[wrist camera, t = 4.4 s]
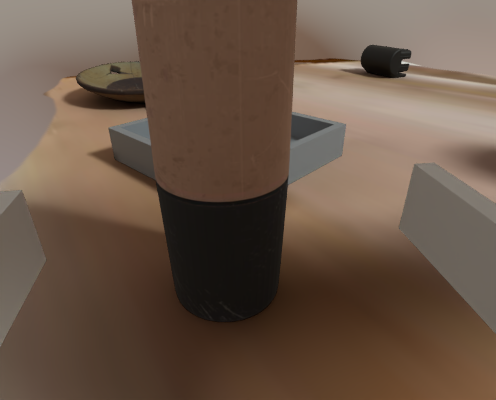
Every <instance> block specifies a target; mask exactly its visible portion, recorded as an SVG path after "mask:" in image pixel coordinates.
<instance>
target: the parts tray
mask: <svg viewBox="0 0 496 400" xmlns="http://www.w3.org/2000/svg"><path fill="white" fill-rule="evenodd" d="M345 129H346V124H343V123H338V122H334V121H330V120H325V119H321V118H317V117H312V116H308V115H304V114H299V113H295V112H292V119H291V140H290V161H289V177H288V185H289V184H291V183H293V182H294V181H296V180H298V179H300V178H302V177H303V176H305V175H307V174H309V173H311V172H312V171H314V170H316V169H318V168H320V167H322V166H323V165H325V164H327V163H329V162H331V161H332V160H334V159H336V158H338V157H340V156H342V151H343V144H344V136H345ZM109 133H110V138H111V143H112V148H113V153H114V158H115V160H117V161H119V162H121V163H123V164H125V165H127V166H129V167H131V168H133V169H135V170H137V171H139V172H141V173H142V174H144V175H146V176H148V177H150V178H152V179H154V180H156V178H155V172H154V164H153V157H152V149H151V142H150V134H149V126H148V119H147V118H145V119H141V120H137V121H133V122H129V123H125V124H121V125H117V126H113V127H109Z"/></svg>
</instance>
